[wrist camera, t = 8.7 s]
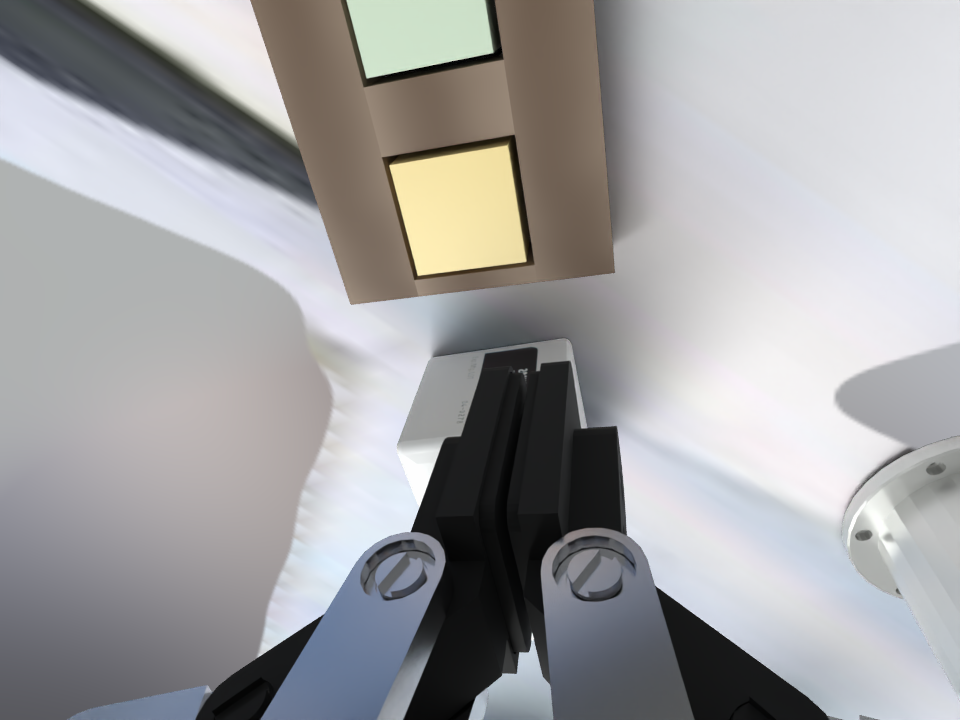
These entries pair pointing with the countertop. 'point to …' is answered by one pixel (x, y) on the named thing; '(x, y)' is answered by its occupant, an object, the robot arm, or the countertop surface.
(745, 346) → the countertop surface
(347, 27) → the key panel
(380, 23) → the sage key
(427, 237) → the ochre key
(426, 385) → the container
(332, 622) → the robot arm
